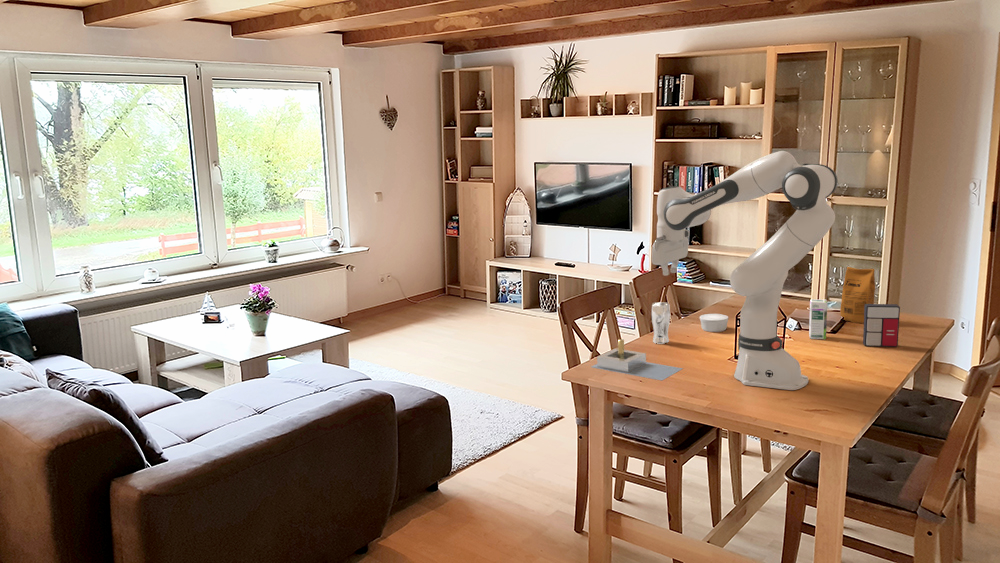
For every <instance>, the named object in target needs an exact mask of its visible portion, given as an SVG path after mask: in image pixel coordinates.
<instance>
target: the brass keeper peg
mask: <svg viewBox="0 0 1000 563" xmlns="http://www.w3.org/2000/svg"><path fill="white" fill-rule="evenodd" d="M617 349H618V358H620V359H624V350H625V340H624V339H622V338H621V339H620V338H619V339H617Z"/></svg>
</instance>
